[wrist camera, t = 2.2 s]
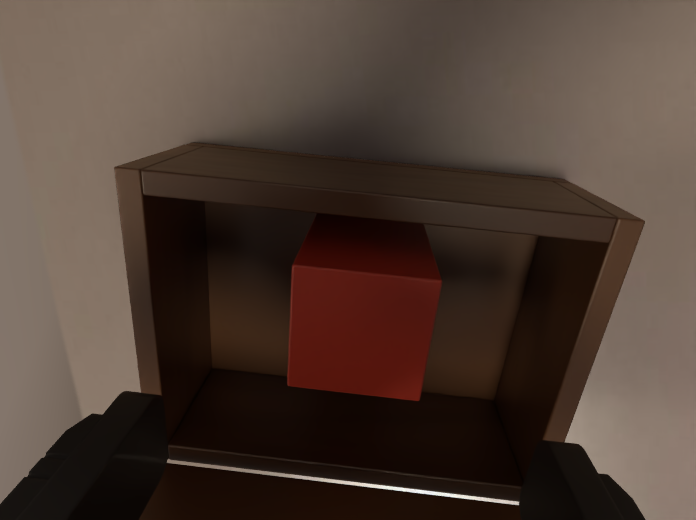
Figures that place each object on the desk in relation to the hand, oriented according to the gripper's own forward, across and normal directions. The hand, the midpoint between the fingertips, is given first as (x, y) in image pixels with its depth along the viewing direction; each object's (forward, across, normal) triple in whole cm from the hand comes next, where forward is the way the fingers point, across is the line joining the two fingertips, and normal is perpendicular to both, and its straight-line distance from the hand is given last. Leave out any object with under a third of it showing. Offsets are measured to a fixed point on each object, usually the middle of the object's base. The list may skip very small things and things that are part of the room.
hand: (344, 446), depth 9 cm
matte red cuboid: (+10, 0, 0) cm, 10 cm away
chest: (+11, 0, +1) cm, 11 cm away
